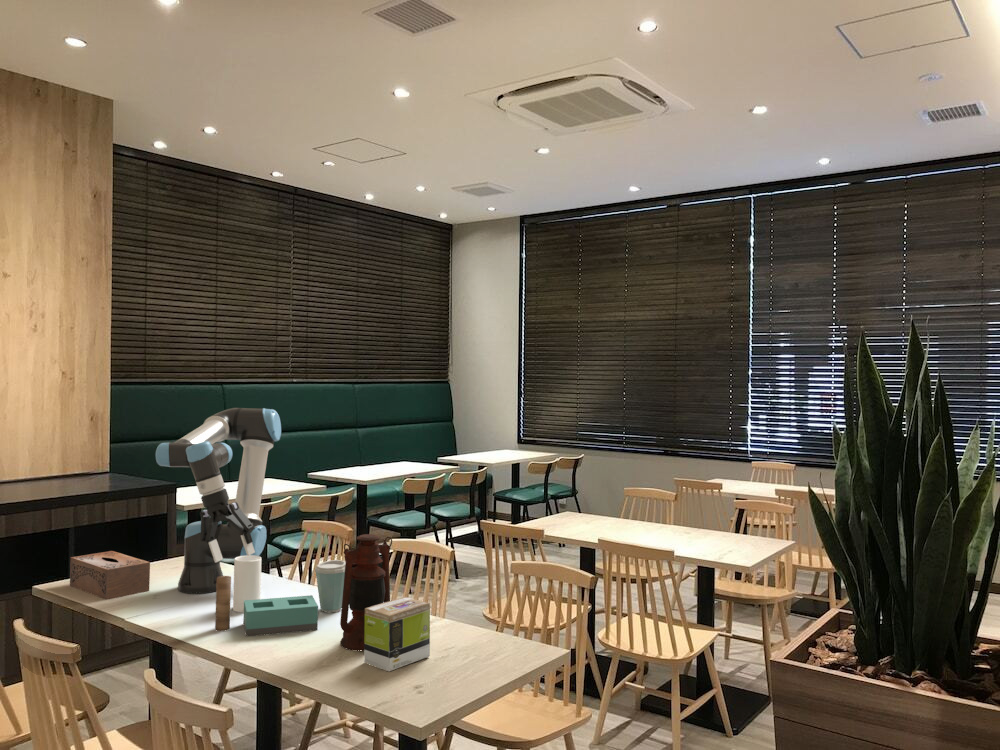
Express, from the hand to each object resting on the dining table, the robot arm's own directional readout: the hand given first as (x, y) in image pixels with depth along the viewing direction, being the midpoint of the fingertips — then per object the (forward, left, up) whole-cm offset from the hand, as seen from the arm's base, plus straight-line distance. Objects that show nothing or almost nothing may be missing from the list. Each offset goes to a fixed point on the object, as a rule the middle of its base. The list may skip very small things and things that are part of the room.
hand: (234, 557), depth 239 cm
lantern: (+34, +34, -19) cm, 51 cm away
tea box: (+50, +39, -19) cm, 66 cm away
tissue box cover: (-47, -38, -19) cm, 63 cm away
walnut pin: (+10, -3, -18) cm, 21 cm away
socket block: (+13, +13, -18) cm, 26 cm away
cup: (-9, +5, -19) cm, 21 cm away
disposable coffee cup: (0, +30, -19) cm, 35 cm away
